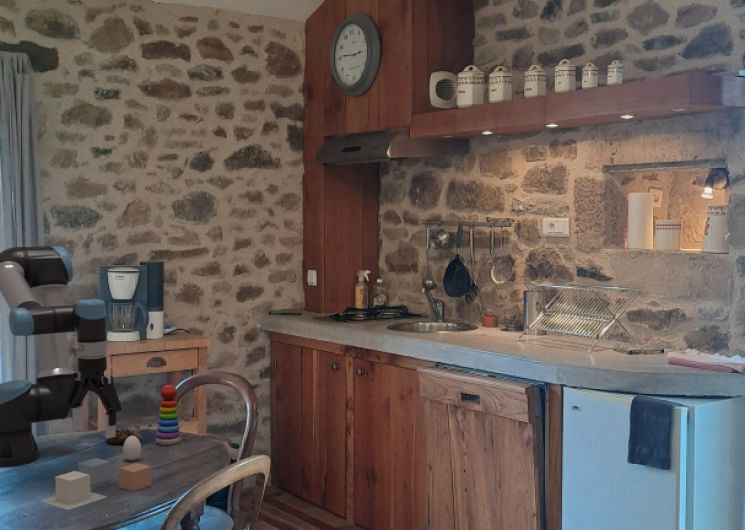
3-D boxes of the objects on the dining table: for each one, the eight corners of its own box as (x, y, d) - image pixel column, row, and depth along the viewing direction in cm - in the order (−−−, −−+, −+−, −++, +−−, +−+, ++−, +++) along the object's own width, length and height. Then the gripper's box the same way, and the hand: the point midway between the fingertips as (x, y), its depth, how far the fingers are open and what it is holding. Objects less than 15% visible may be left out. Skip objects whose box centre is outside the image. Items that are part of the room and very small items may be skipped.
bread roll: (109, 447, 275) (109, 431, 276) (102, 444, 285) (102, 428, 285) (145, 444, 280) (145, 428, 281) (136, 441, 290) (136, 426, 291)
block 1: (55, 499, 223) (55, 476, 222) (75, 493, 228) (75, 471, 227) (70, 504, 219) (70, 480, 219) (90, 497, 224) (90, 474, 224)
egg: (144, 460, 261) (144, 436, 261) (128, 463, 258) (128, 439, 257) (136, 456, 265) (135, 432, 265) (119, 460, 261) (119, 435, 261)
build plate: (38, 504, 222) (38, 500, 222) (77, 491, 232) (77, 488, 232) (68, 513, 215) (68, 509, 215) (107, 499, 225) (107, 496, 225)
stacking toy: (174, 446, 277) (173, 388, 275) (151, 445, 278) (150, 387, 277) (184, 440, 284) (184, 383, 283) (162, 438, 286) (161, 382, 285)
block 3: (118, 490, 233) (118, 468, 233) (136, 484, 238) (136, 462, 238) (134, 494, 230) (133, 472, 230) (151, 488, 235) (151, 466, 235)
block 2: (78, 484, 238) (77, 463, 238) (96, 479, 243) (95, 458, 243) (92, 488, 235) (92, 466, 234) (110, 482, 240) (110, 461, 239)
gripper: (51, 354, 241) (53, 431, 242) (111, 362, 227) (113, 443, 228) (74, 351, 247) (76, 425, 248) (134, 358, 233) (135, 437, 234)
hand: (93, 434), depth 238 cm, fingers open, 13 cm apart
